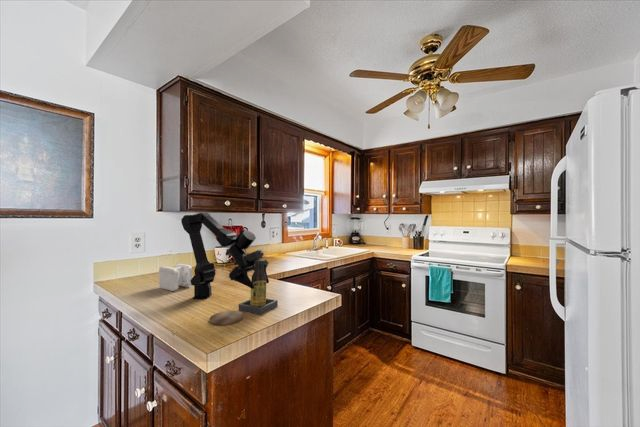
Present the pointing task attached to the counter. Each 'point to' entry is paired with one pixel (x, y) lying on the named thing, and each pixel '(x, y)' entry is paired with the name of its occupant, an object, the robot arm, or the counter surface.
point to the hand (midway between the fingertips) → (261, 285)
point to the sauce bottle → (258, 285)
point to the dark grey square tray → (256, 310)
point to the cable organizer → (175, 276)
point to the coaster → (226, 317)
